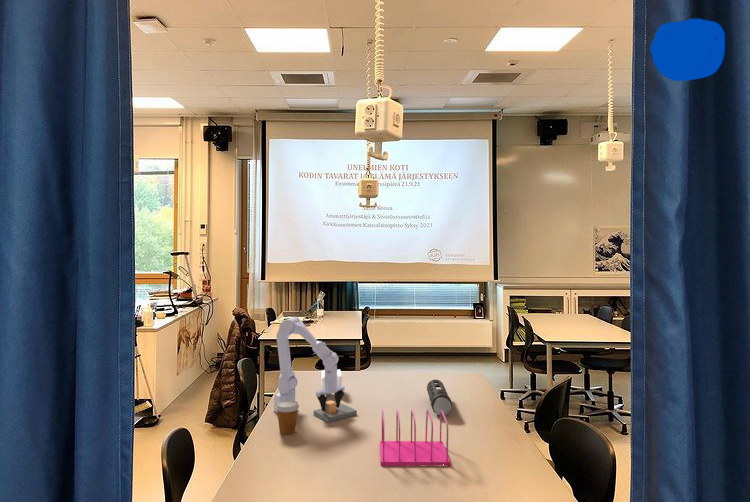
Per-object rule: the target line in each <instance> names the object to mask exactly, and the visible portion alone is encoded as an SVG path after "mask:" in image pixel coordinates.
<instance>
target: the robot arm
mask: <svg viewBox="0 0 750 502" xmlns="http://www.w3.org/2000/svg"><path fill="white" fill-rule="evenodd" d="M292 334H293V335H300V336H301V337H302V339H304V340H305V341H306V342H307V343H308V344H310V346H311V347H312V351H313V352H314V354H316V355H317V357H319V358H320V360H321V361H322V365H323V366H324V370H325V381H324V389H322V390H321V389H320V390H317V391H316V392H315V396H316V398H317V400H318V401H319V404H320V409H322V411H325V410H326V401H328V400H327V399H328V397H327V395H330V394H334V402H336V407H337V408H339V406H340V404H341V402H342V399H343V397H344V395H345V392H344V391H345V388H346V387H345V386H344V385H342V386H337V370H338V362H339V360H340V359H339V355H338V354H337V352H334V351H333V350H331V349H330V348H329V347H327V345H326V342H325V341H324V342H323V340H318V339H317V338H316V337H315V336H314V334H312V333H311V331H310V330H309V329H308V328H307V326H306V325H305V323H304V322H303V321H301V320H300V318H299V317H297V316H293V317H290V318H288V319H284V320H282V322H281V323H279V327H278V331H277V333H276V336H275V337H276V344H277V345H276V346H277V353H278V361H279V371H280V374H279V377H278V383H277V390H278V393H277V394H274V398H273V403H274V404H273V412H275V414H278V413H277V409H276V406H277V403H278V402H280V401H285V400H293V401H296V387H298V379H297V377H296V374H295V372H294V371H293V366H292V359H291V350H290V342H289V338H290V336H291V335H292ZM324 395H326V397H325V396H324ZM299 410H300V409H298V411H297V412H299Z"/></svg>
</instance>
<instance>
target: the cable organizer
mask: <svg viewBox="0 0 750 502" xmlns="http://www.w3.org/2000/svg"><path fill="white" fill-rule="evenodd" d="M342 377H343V376H342V371H341V369H338V368H337V386H343V380H342V379H343V378H342ZM324 381H325V369H323V370H321V371H320V382H321V383H320V385H321V389H320V390H322V389H324ZM324 396H325V397H327V394H326V395H324Z"/></svg>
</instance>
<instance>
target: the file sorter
mask: <svg viewBox="0 0 750 502" xmlns="http://www.w3.org/2000/svg"><path fill="white" fill-rule="evenodd" d="M410 410H411V411H410V440H401V419H400V411H399V409H397V410H396V423H395V424H396V425H395V427H396V431H395V432H396V436H395V438H396V439H395V440H385V416H384V415H385V414H384V409H381V440H380V441H379V457H380V459H379V460H380V462H379V463H380V466H382V467H385V466H386V467H407V466H406V465H443V464H444V465H450V466H451V461H450V458H449V422H448V420H447V418H446V415H444V413H443V411H441V412H440V415H439V441H437V440H433V439H434V422H433V418H432V416H431V411H430V410H429V408H428V409H426V413H425V414H426V415H425V416H426V417H425V440H417V426H416V417H415V413H414V409H410ZM442 415H443V416H442ZM428 416H429V417H428ZM442 417H443V419H444V422H445V425H446V444H444V441H443V440H442V420H443V419H442ZM429 418H430V419H429ZM428 419H429V420H430V423H431V430H430V432H431V435H430V436H431V437H430V440H428V422H429V421H428ZM413 423H414V424H413ZM413 429H414V431H413ZM413 432H414V434H413ZM413 435H414V440H413ZM445 445H446V447H445Z"/></svg>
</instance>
